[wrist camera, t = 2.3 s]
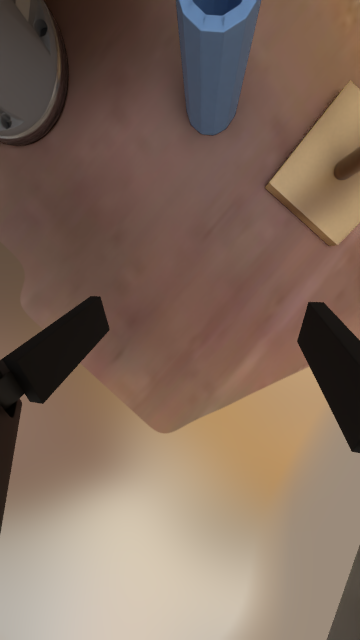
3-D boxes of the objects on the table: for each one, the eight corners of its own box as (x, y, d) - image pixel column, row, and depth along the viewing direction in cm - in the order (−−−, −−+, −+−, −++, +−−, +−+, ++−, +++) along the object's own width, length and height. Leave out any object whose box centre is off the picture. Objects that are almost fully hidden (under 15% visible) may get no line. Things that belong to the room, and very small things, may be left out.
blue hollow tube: (177, 113, 23) (157, -12, 13) (208, 60, 22) (215, -131, 11) (214, 146, 24) (224, 53, 13) (247, 96, 22) (289, -53, 12)
